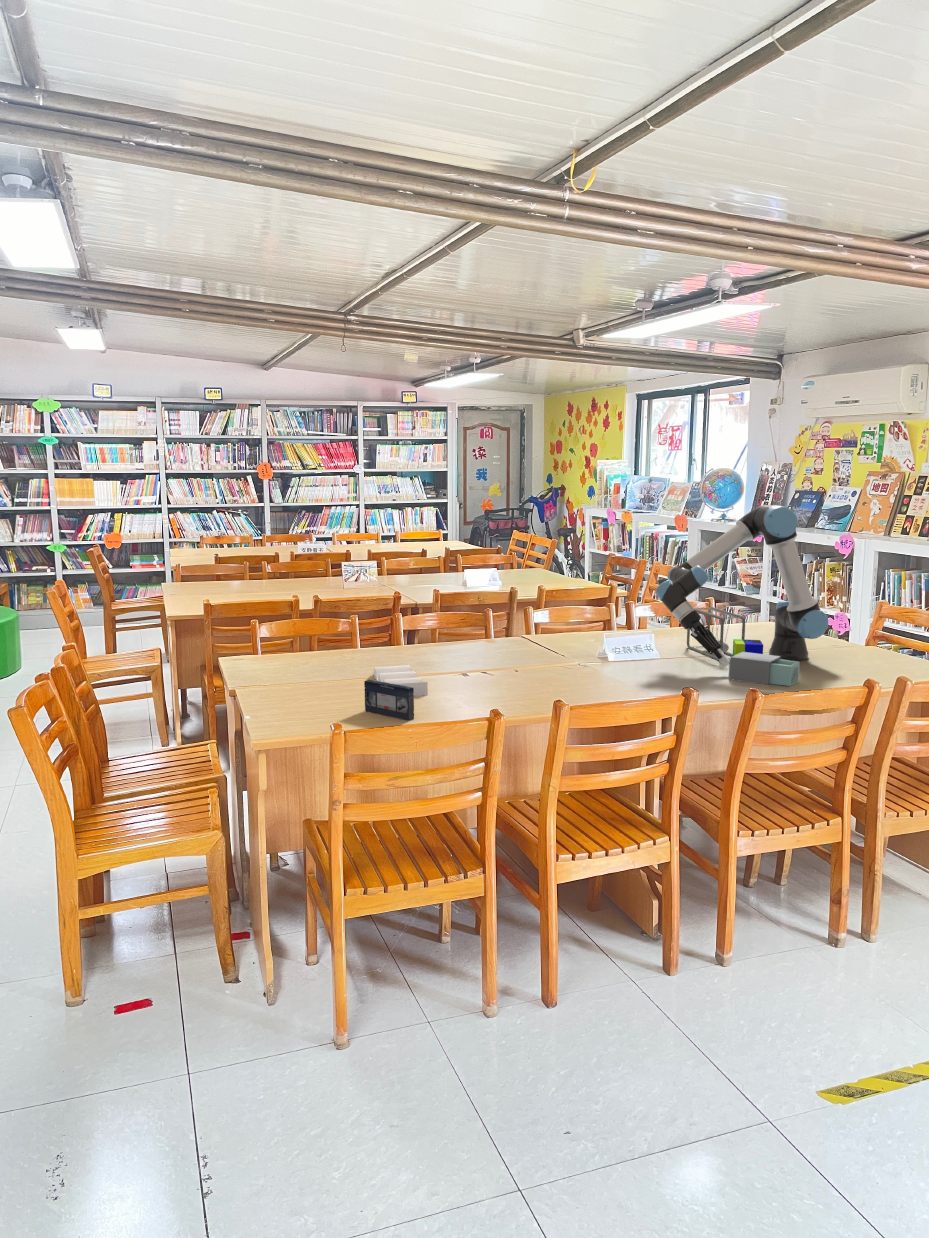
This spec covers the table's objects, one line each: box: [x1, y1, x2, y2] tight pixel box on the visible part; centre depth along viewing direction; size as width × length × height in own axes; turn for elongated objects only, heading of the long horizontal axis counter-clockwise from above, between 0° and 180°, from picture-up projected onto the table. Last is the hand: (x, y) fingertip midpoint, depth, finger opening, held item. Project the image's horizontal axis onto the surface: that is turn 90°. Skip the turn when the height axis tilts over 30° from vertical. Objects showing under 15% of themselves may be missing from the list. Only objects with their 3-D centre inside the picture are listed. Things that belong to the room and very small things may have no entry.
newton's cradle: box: [686, 606, 746, 661], centre depth 363 cm, size 30×10×18 cm, turn 12°
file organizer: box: [373, 664, 429, 697], centre depth 311 cm, size 13×35×5 cm, turn 15°
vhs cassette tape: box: [363, 679, 415, 721], centre depth 270 cm, size 18×3×10 cm, turn 52°
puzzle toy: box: [732, 638, 764, 656], centre depth 338 cm, size 10×10×10 cm
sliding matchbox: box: [728, 657, 801, 687], centre depth 317 cm, size 22×10×7 cm, turn 53°
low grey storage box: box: [729, 652, 782, 686], centre depth 319 cm, size 14×12×8 cm
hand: (727, 664), depth 325 cm, fingers closed
